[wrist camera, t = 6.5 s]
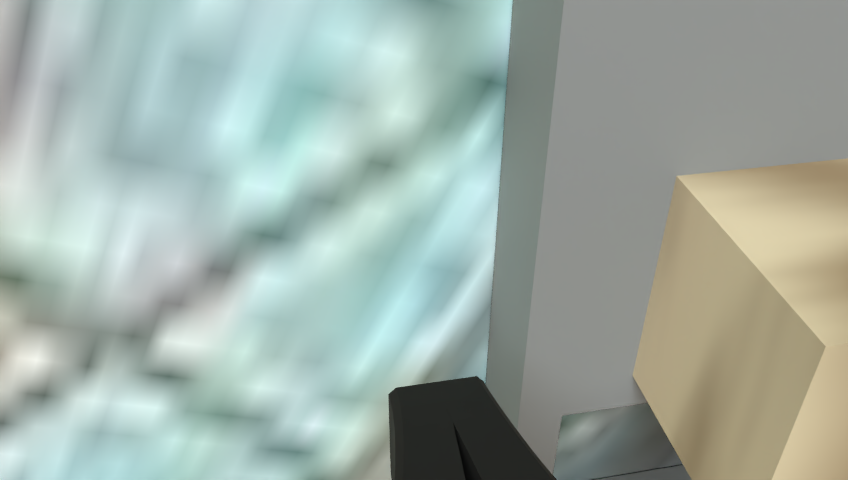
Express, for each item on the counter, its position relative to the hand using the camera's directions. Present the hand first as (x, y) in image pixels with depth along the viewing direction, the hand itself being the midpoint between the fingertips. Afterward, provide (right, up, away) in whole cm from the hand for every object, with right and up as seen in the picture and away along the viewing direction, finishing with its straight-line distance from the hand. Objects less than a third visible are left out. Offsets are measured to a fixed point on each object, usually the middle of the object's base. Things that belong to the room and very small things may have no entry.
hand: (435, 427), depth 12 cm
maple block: (+7, +2, +4) cm, 8 cm away
